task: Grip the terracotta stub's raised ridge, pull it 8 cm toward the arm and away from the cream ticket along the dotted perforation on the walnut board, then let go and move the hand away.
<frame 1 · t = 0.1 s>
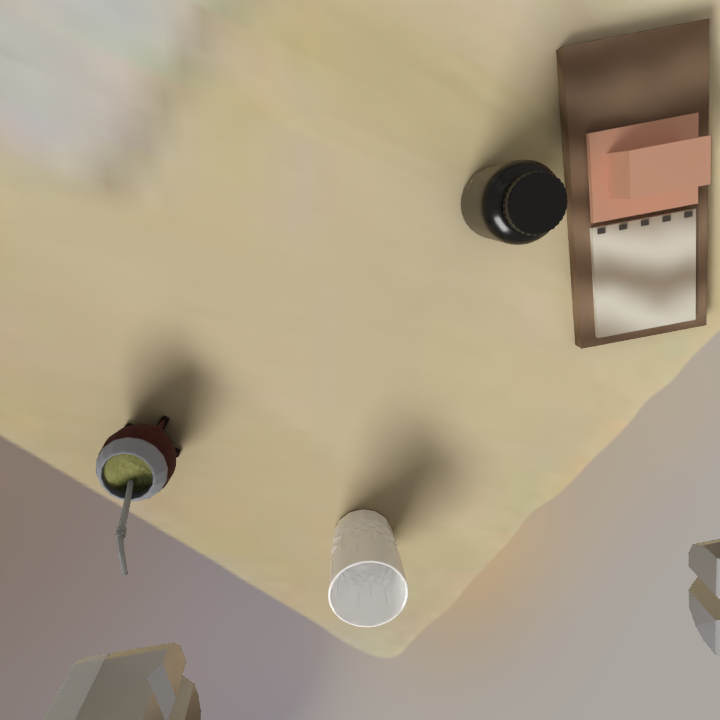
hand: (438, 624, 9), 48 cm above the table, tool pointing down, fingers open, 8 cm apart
supplement bottle: (493, 201, 54), on the table
mate gourd: (156, 442, 59), on the table
white cup: (362, 533, 64), on the table
ticket board: (632, 217, 55), on the table
stub: (655, 168, 49), point 4 cm above the table, slide at 0.0 cm
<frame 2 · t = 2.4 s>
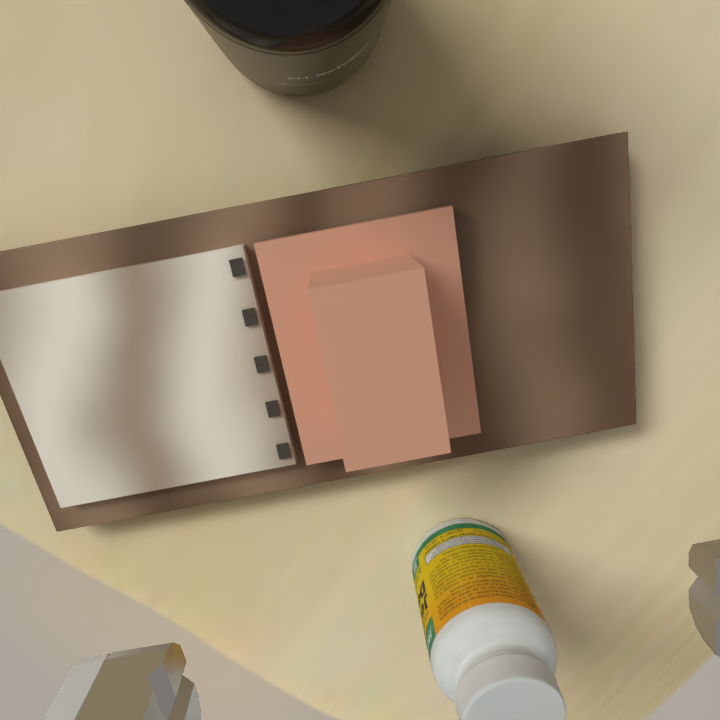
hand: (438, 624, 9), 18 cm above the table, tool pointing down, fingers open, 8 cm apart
supplement bottle: (298, 4, 22), on the table
ticket board: (275, 348, 26), on the table
supplement bottle 2: (458, 554, 30), on the table
stub: (377, 356, 22), point 4 cm above the table, slide at 0.0 cm
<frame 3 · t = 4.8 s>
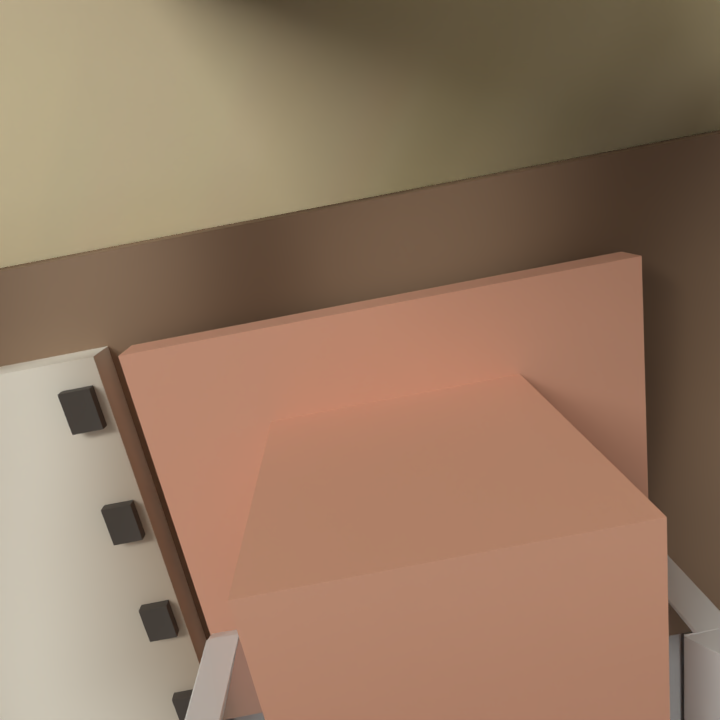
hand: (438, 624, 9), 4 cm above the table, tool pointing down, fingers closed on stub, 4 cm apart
ticket board: (206, 543, 12), on the table
stub: (446, 655, 8), point 4 cm above the table, slide at 0.0 cm, touching gripper
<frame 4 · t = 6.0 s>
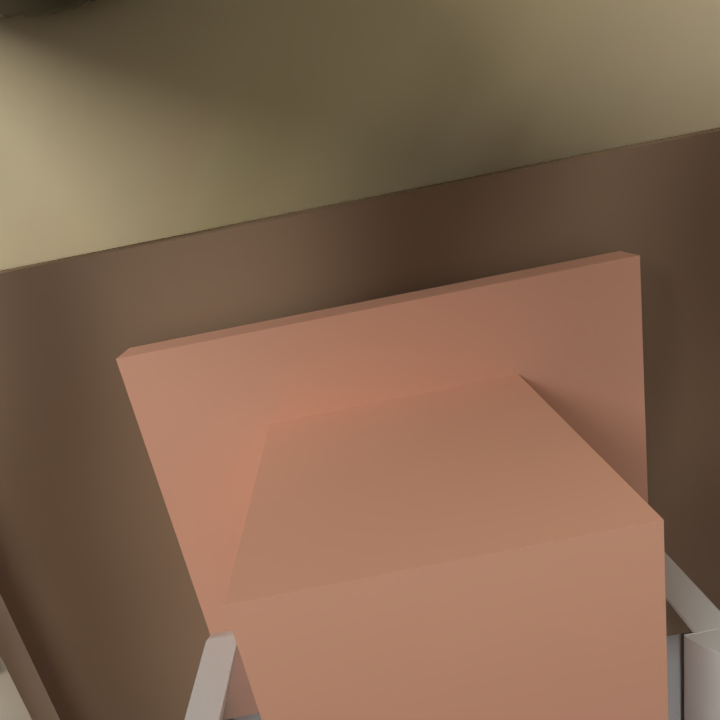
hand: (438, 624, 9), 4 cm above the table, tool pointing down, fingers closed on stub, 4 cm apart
ticket board: (52, 574, 12), on the table
stub: (446, 656, 8), point 4 cm above the table, slide at 3.5 cm, touching gripper
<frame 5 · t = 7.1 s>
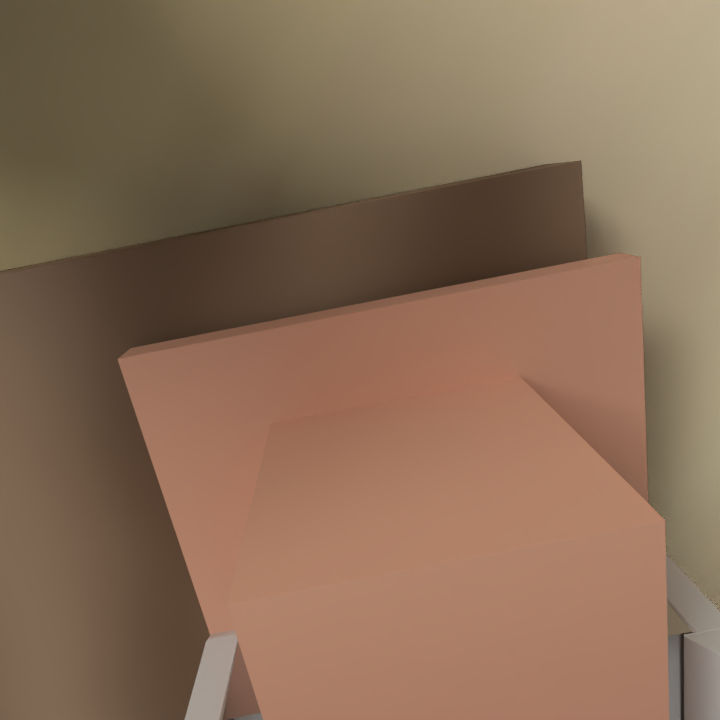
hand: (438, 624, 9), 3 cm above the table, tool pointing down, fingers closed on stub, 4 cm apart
stub: (446, 657, 8), point 4 cm above the table, slide at 7.9 cm, touching gripper
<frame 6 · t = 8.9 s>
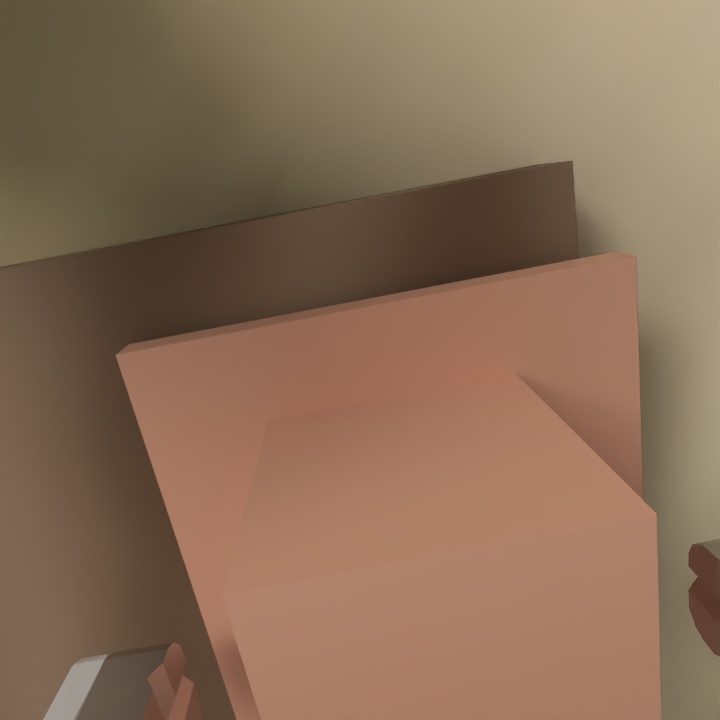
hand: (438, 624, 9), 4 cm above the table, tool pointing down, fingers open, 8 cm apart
stub: (441, 652, 8), point 4 cm above the table, slide at 8.0 cm
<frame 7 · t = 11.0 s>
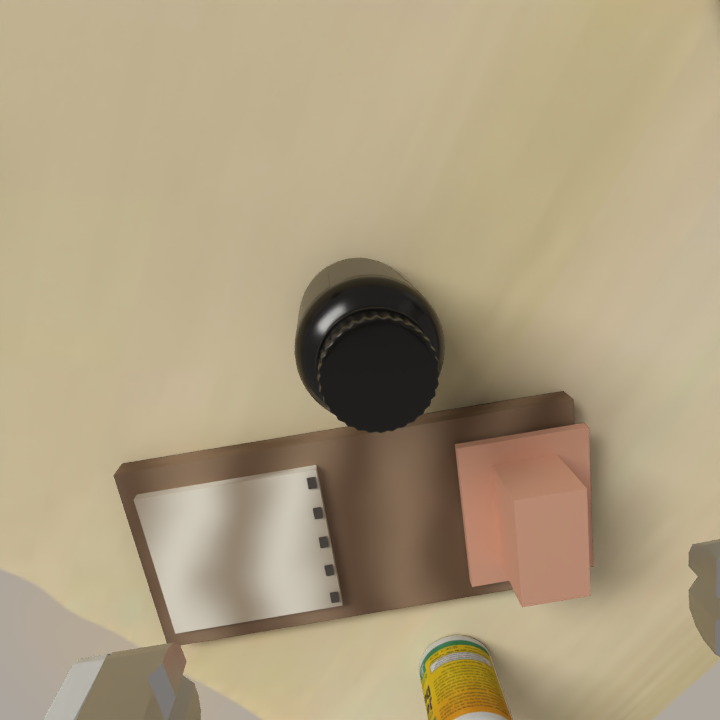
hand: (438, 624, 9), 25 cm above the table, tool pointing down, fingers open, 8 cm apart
supplement bottle: (358, 313, 33), on the table
ticket board: (329, 521, 37), on the table
supplement bottle 2: (453, 659, 41), on the table
stub: (538, 525, 33), point 4 cm above the table, slide at 8.0 cm
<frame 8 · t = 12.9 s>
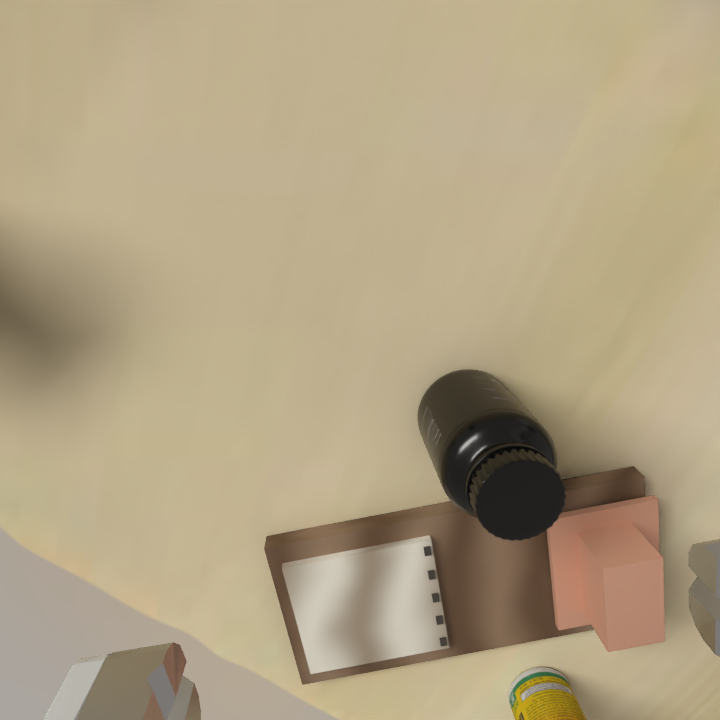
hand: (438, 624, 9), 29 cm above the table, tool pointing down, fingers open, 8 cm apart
supplement bottle: (463, 410, 40), on the table
ticket board: (435, 577, 44), on the table
supplement bottle 2: (536, 686, 48), on the table
stub: (617, 583, 40), point 4 cm above the table, slide at 8.0 cm
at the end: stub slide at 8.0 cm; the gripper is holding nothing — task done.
